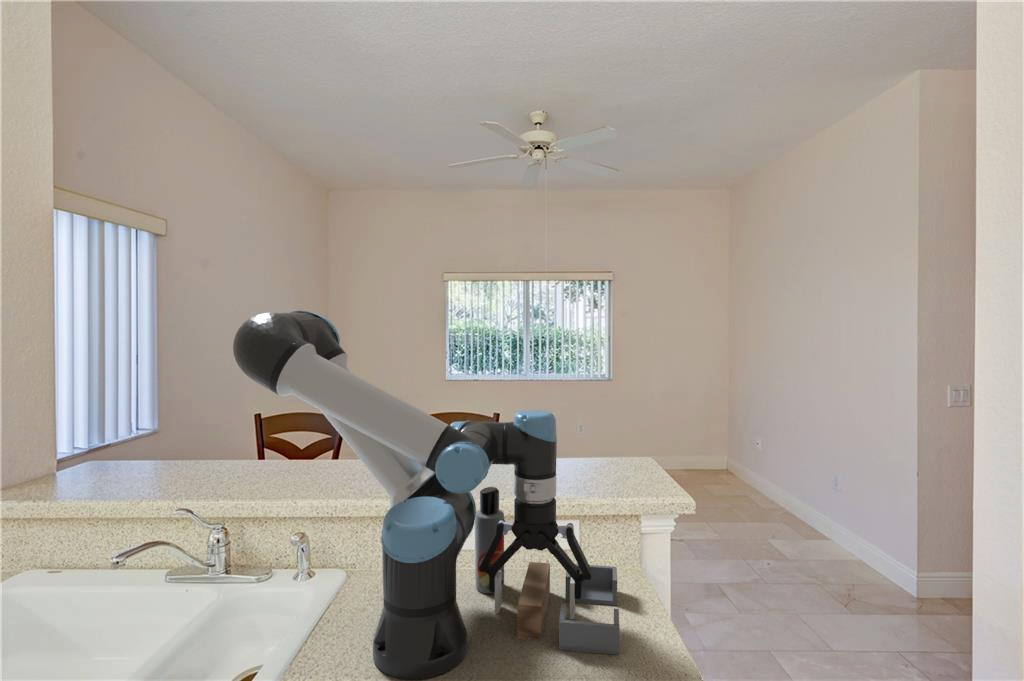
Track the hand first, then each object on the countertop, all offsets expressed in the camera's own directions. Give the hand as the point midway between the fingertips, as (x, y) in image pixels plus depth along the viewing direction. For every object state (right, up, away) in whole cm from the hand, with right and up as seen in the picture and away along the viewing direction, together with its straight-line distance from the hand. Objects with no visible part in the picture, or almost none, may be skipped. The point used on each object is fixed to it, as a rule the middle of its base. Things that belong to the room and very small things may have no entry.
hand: (535, 611), depth 103 cm
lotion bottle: (-9, 0, +9) cm, 13 cm away
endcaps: (+10, 0, -2) cm, 10 cm away
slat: (0, 0, 0) cm, 0 cm away
